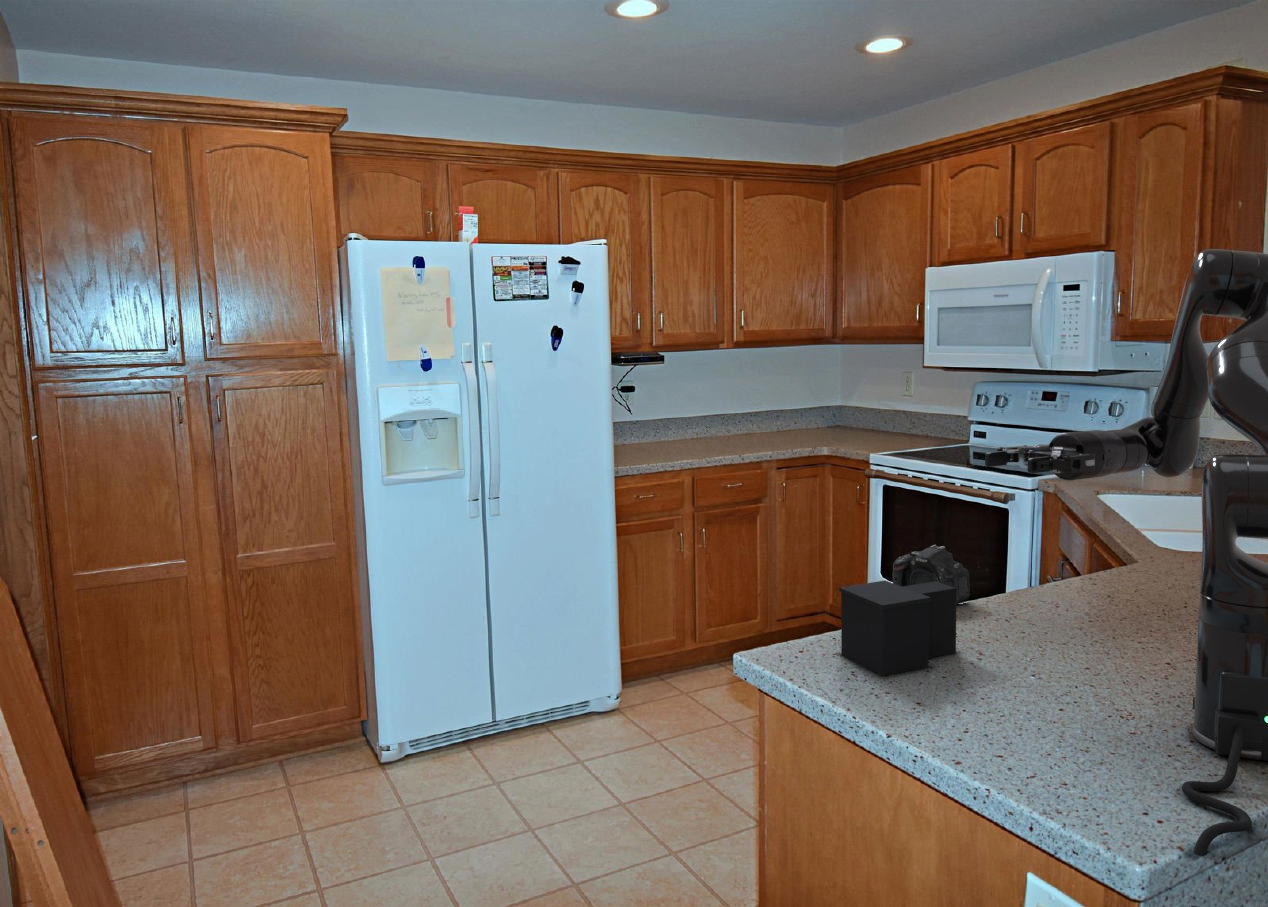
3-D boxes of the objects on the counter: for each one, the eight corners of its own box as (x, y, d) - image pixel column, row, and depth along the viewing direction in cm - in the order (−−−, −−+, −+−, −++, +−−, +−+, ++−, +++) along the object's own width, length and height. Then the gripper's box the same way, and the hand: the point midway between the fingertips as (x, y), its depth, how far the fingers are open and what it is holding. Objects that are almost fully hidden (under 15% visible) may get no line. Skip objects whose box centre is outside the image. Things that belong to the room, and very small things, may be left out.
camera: (886, 603, 159) (886, 549, 158) (897, 589, 168) (898, 537, 166) (965, 611, 153) (965, 555, 152) (972, 596, 161) (973, 542, 160)
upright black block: (956, 652, 133) (956, 588, 132) (918, 660, 131) (918, 594, 129) (935, 643, 137) (936, 581, 136) (898, 650, 135) (898, 587, 134)
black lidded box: (930, 667, 128) (931, 597, 126) (882, 677, 125) (882, 605, 123) (884, 645, 137) (885, 580, 136) (839, 654, 134) (839, 587, 133)
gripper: (1051, 427, 146) (973, 434, 140) (1127, 434, 133) (1045, 442, 127) (1049, 472, 147) (973, 481, 141) (1125, 483, 134) (1044, 493, 128)
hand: (1007, 462), depth 134 cm, fingers open, 8 cm apart
